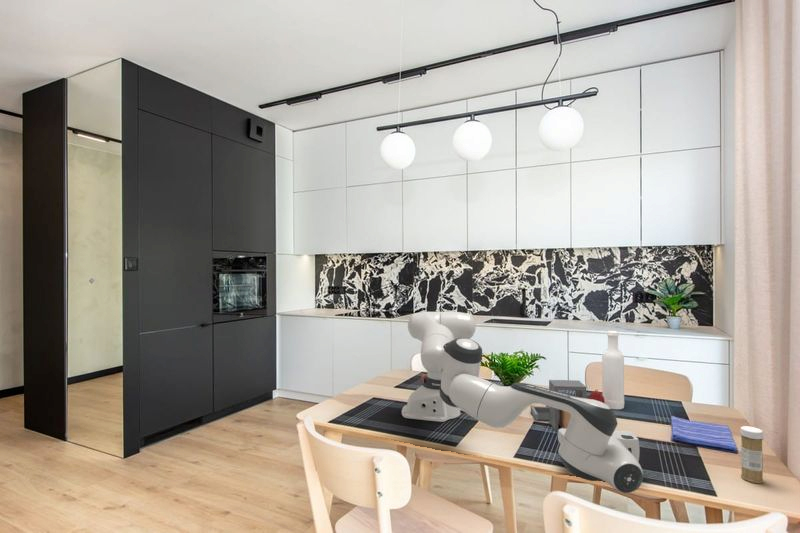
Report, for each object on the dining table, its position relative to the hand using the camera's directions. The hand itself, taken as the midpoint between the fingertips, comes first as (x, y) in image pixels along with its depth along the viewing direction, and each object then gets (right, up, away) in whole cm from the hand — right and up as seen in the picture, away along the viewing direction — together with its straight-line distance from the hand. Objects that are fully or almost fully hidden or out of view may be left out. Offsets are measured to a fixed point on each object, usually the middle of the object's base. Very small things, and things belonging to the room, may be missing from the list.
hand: (588, 428), depth 127 cm
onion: (+21, -8, +39) cm, 45 cm away
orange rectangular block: (+2, -8, +17) cm, 19 cm away
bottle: (+29, -8, +43) cm, 53 cm away
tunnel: (+2, -8, +22) cm, 24 cm away
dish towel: (+44, -8, +14) cm, 47 cm away
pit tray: (+3, -8, +31) cm, 32 cm away
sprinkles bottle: (+36, -8, -15) cm, 40 cm away
